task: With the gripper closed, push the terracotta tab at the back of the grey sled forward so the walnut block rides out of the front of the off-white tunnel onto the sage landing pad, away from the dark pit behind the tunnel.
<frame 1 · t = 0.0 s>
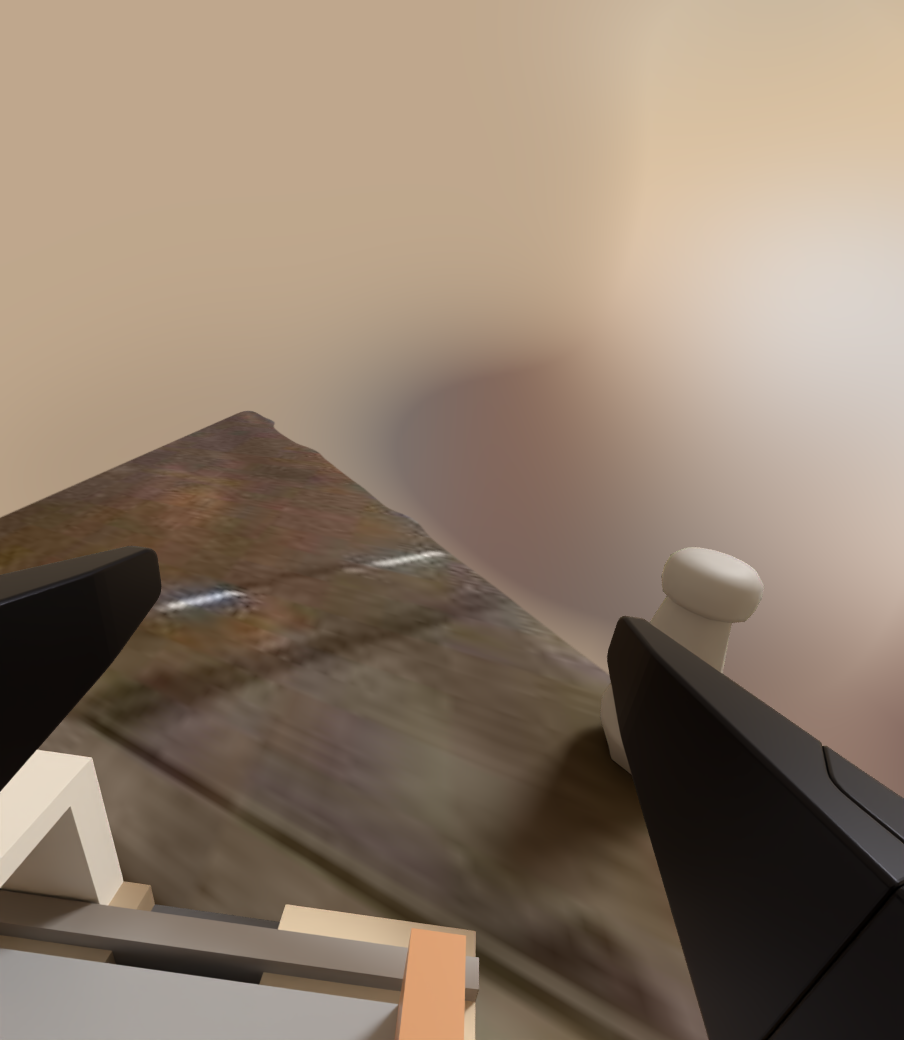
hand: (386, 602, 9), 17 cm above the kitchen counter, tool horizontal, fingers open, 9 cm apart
salt shaker: (639, 754, 27), on the kitchen counter
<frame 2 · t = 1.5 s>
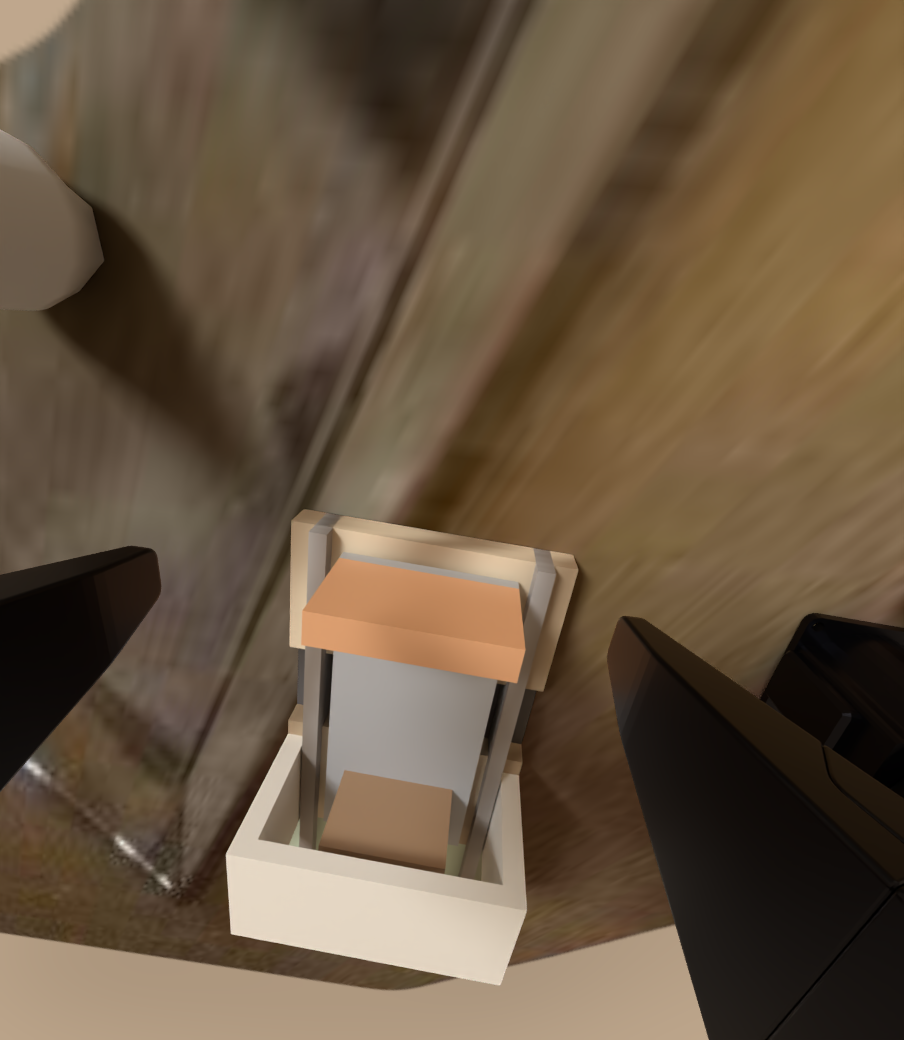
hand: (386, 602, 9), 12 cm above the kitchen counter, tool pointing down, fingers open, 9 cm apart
track deck: (402, 768, 28), on the kitchen counter
tunnel: (385, 848, 23), point 5 cm above the kitchen counter
sled: (400, 751, 22), point 4 cm above the kitchen counter, slide at 0.0 cm
salt shaker: (58, 236, 18), on the kitchen counter
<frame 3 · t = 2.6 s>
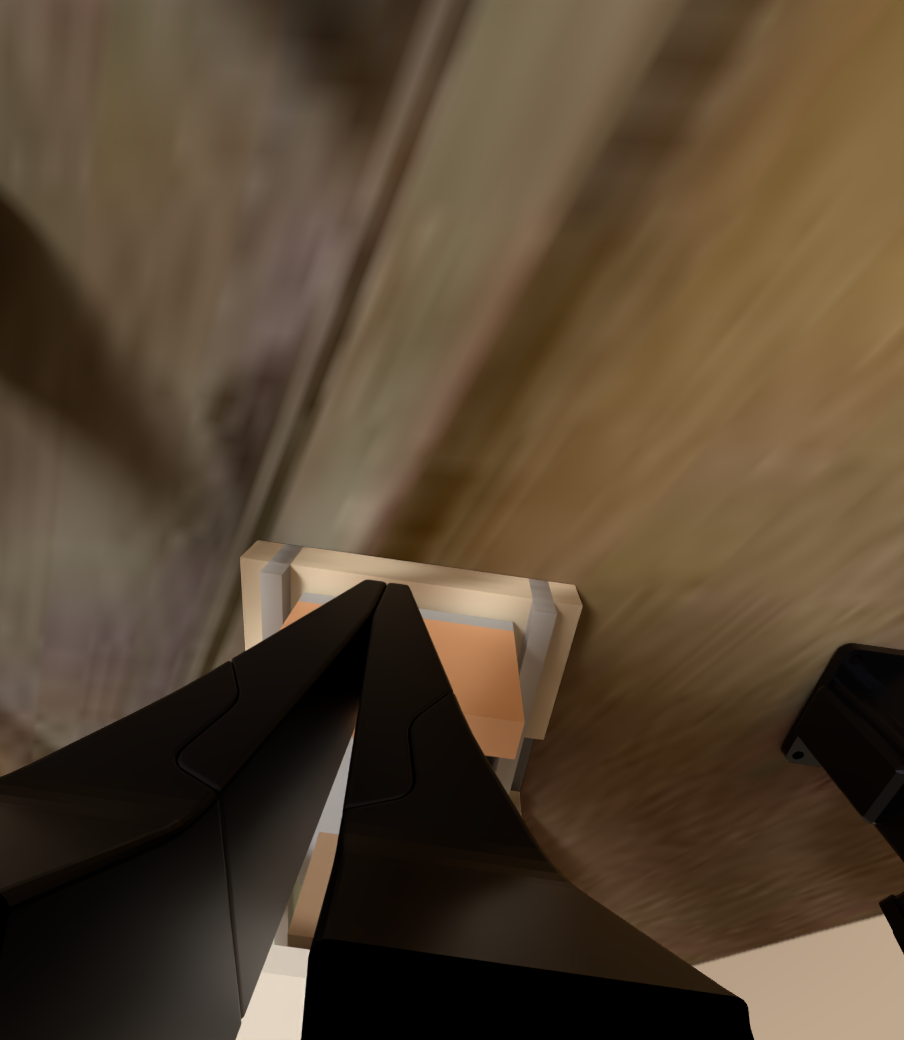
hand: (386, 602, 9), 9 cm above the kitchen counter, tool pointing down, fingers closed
track deck: (386, 819, 25), on the kitchen counter
tunnel: (367, 924, 20), point 5 cm above the kitchen counter
sled: (380, 819, 18), point 4 cm above the kitchen counter, slide at 0.0 cm
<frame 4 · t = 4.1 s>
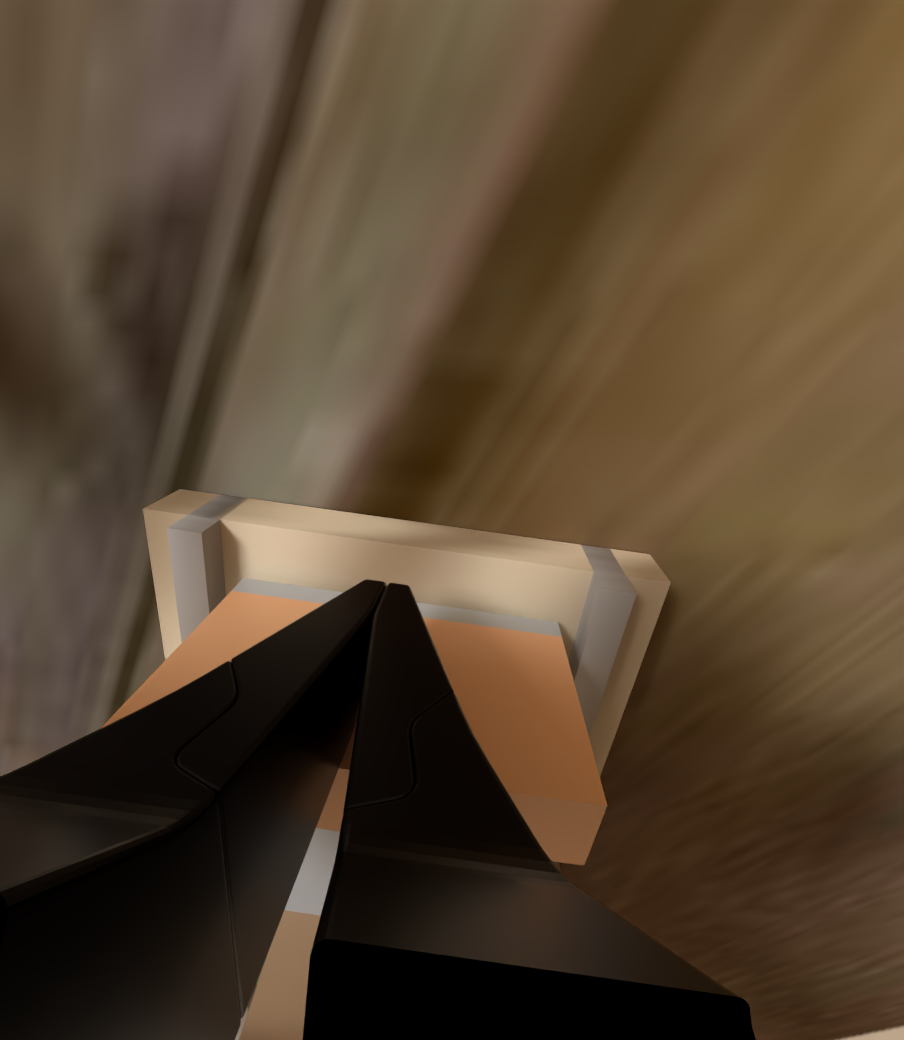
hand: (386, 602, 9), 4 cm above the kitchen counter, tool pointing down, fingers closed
track deck: (377, 876, 19), on the kitchen counter
sled: (360, 912, 13), point 4 cm above the kitchen counter, slide at 0.5 cm, touching gripper
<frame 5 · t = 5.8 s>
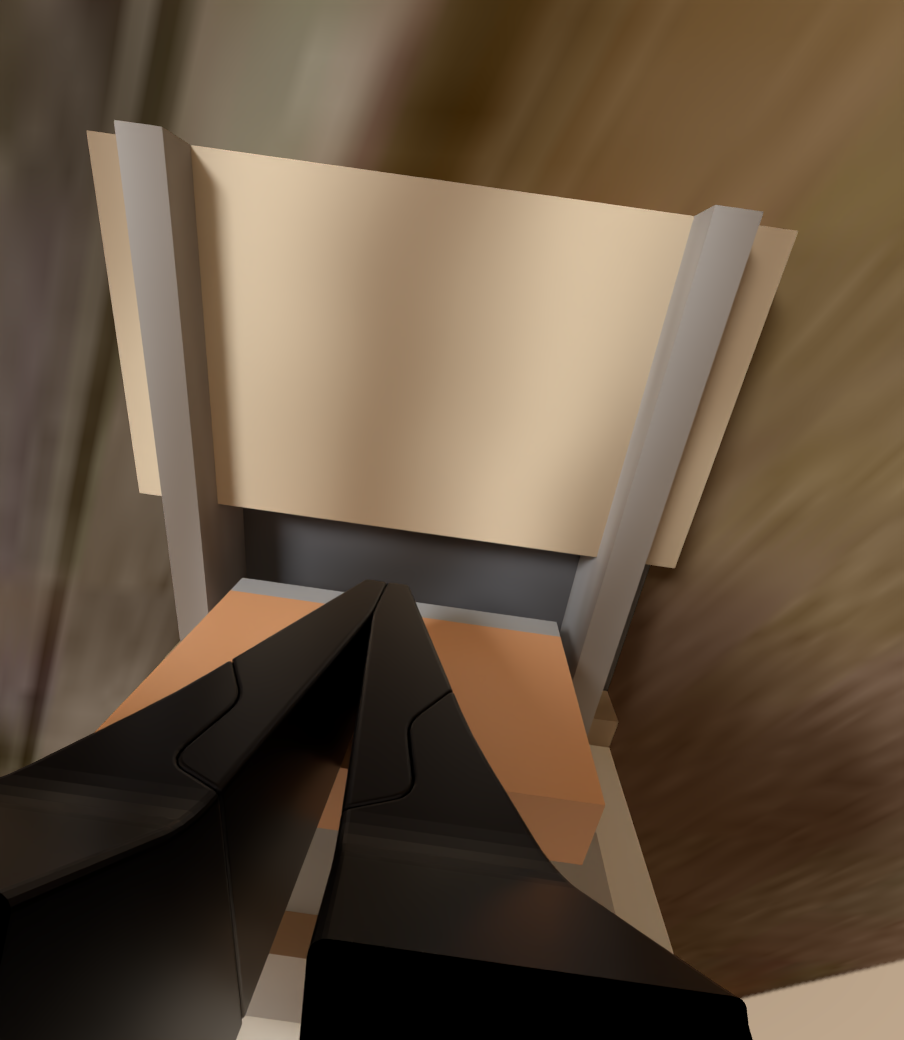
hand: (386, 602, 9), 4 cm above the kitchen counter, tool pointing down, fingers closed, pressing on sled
track deck: (390, 746, 16), on the kitchen counter
tunnel: (356, 904, 11), point 5 cm above the kitchen counter
sled: (359, 912, 13), point 4 cm above the kitchen counter, slide at 7.8 cm, touching gripper
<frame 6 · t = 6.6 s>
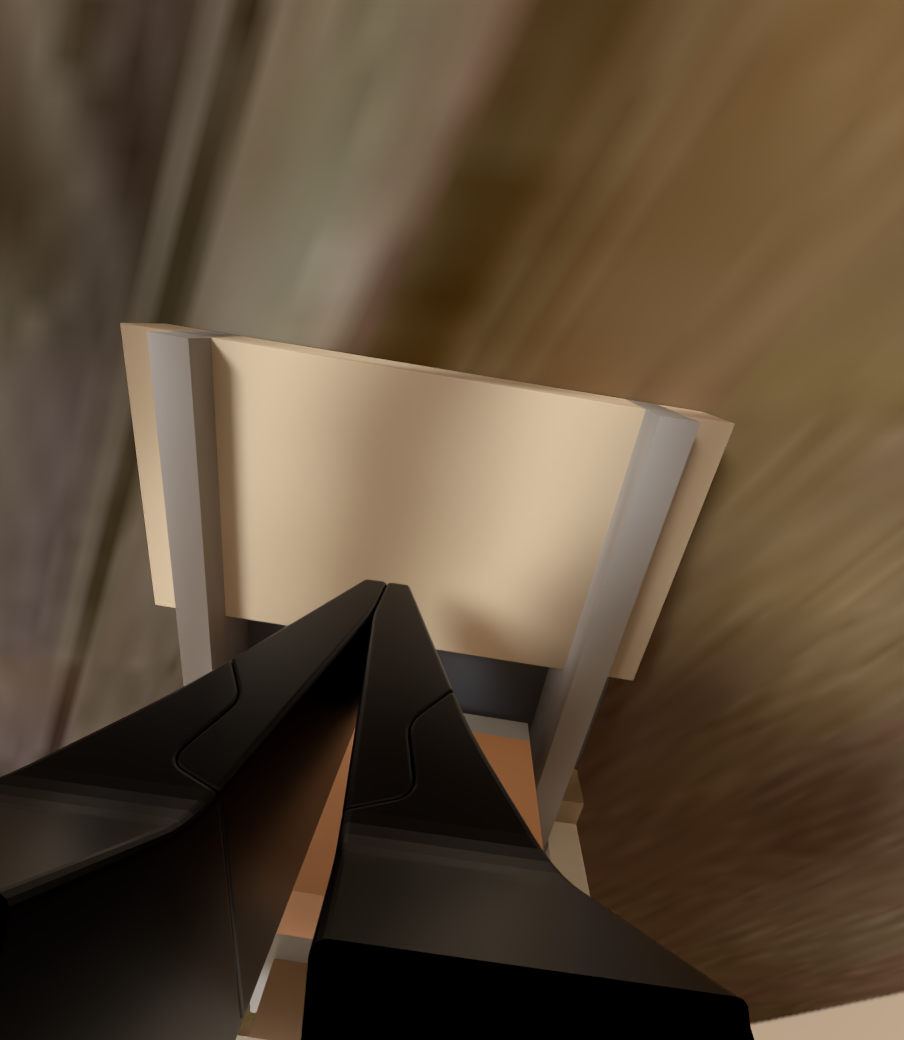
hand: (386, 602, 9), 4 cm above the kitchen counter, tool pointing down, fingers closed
track deck: (377, 809, 17), on the kitchen counter
tunnel: (343, 972, 13), point 5 cm above the kitchen counter
sled: (345, 974, 14), point 4 cm above the kitchen counter, slide at 7.9 cm
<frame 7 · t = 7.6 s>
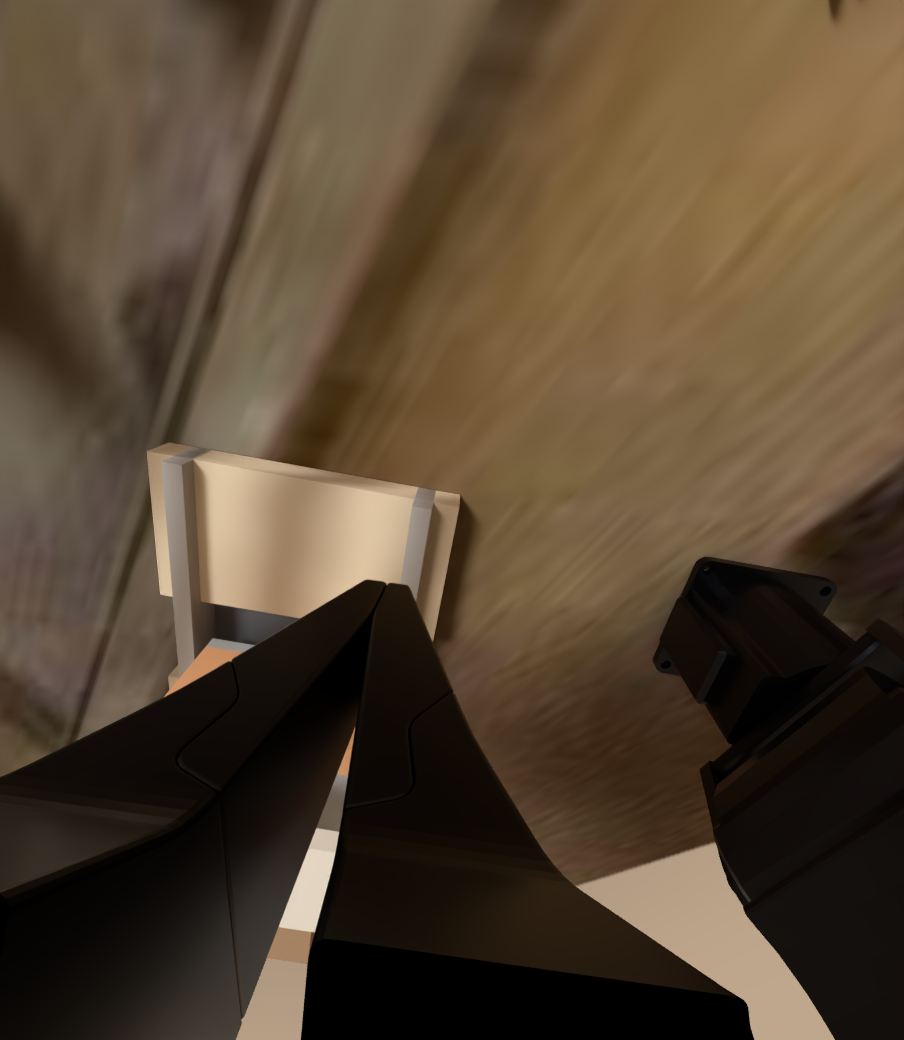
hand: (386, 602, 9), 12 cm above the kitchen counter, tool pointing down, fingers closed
track deck: (301, 729, 26), on the kitchen counter
tunnel: (267, 807, 22), point 5 cm above the kitchen counter
sled: (272, 817, 23), point 4 cm above the kitchen counter, slide at 7.9 cm
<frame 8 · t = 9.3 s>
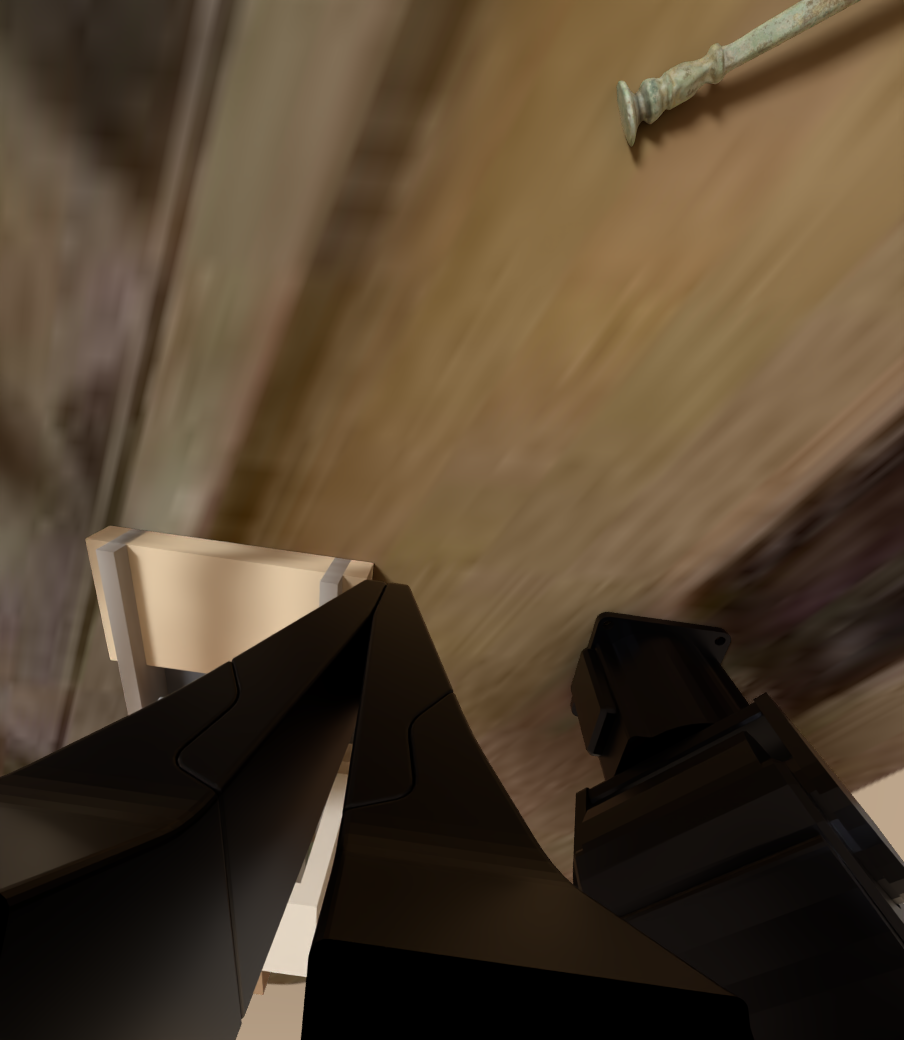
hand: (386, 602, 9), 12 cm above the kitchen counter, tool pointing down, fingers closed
track deck: (254, 772, 28), on the kitchen counter
tunnel: (214, 852, 24), point 5 cm above the kitchen counter
sled: (222, 859, 25), point 4 cm above the kitchen counter, slide at 7.9 cm
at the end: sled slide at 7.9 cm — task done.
